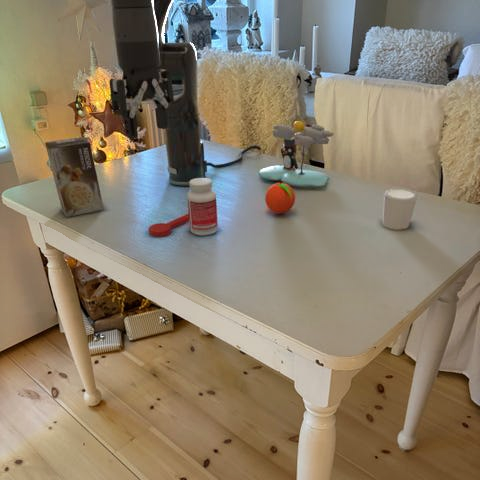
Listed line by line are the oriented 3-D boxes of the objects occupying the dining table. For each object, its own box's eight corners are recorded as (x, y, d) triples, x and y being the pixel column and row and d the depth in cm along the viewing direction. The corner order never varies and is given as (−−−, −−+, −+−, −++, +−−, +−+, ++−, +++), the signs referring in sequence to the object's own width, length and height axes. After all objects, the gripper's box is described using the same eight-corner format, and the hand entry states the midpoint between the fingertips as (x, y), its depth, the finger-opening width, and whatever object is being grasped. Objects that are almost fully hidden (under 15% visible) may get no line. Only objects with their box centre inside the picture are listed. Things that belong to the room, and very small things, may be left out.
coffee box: (97, 201, 123) (85, 135, 114) (104, 210, 119) (91, 142, 109) (60, 209, 120) (44, 141, 111) (65, 218, 115) (49, 148, 106)
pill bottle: (223, 231, 107) (220, 182, 101) (198, 238, 104) (194, 188, 98) (208, 222, 111) (205, 174, 105) (185, 229, 109) (180, 180, 102)
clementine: (303, 215, 114) (304, 185, 110) (278, 222, 111) (279, 191, 107) (283, 204, 119) (284, 175, 115) (259, 210, 116) (259, 181, 112)
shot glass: (412, 220, 110) (418, 189, 106) (410, 232, 105) (416, 201, 101) (381, 216, 112) (385, 186, 108) (378, 228, 107) (382, 197, 103)
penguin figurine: (252, 179, 134) (252, 121, 126) (274, 169, 141) (275, 113, 133) (315, 194, 124) (320, 132, 116) (336, 182, 131) (341, 123, 123)
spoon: (197, 209, 118) (197, 204, 117) (212, 214, 115) (212, 209, 115) (144, 233, 107) (144, 228, 107) (159, 239, 105) (159, 233, 104)
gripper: (122, 42, 80) (136, 144, 89) (178, 34, 89) (186, 127, 99) (91, 40, 83) (107, 139, 93) (148, 33, 93) (157, 123, 102)
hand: (148, 132), depth 96 cm, fingers open, 8 cm apart
